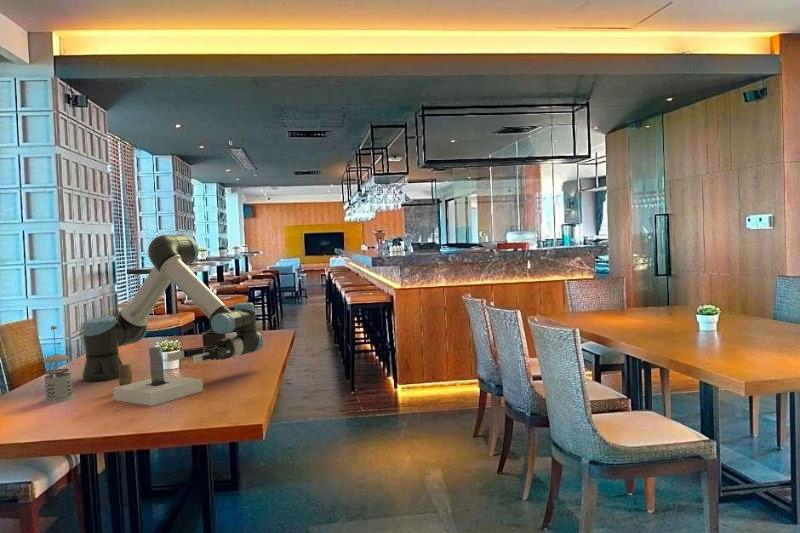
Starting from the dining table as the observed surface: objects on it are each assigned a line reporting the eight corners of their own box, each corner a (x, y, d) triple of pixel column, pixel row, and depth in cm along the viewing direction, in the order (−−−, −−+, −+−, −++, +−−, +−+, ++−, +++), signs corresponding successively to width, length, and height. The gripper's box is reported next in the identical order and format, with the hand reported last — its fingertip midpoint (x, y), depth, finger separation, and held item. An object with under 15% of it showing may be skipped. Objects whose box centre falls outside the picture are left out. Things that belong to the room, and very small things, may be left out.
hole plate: (113, 400, 211) (112, 388, 211) (165, 386, 227) (164, 375, 227) (151, 405, 200) (150, 393, 200) (203, 390, 217) (202, 379, 216)
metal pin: (150, 396, 213) (146, 348, 212) (160, 393, 216) (156, 346, 216) (157, 397, 211) (154, 349, 210) (168, 394, 214) (164, 347, 214)
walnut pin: (117, 391, 223) (116, 366, 222) (127, 389, 226) (125, 364, 226) (125, 392, 221) (123, 366, 220) (134, 390, 224) (133, 364, 224)
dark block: (203, 355, 288) (200, 316, 288) (202, 352, 299) (199, 313, 298) (238, 352, 293) (236, 312, 293) (236, 348, 304) (234, 310, 303)
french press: (46, 404, 210) (40, 328, 209) (38, 399, 219) (32, 326, 218) (79, 398, 216) (73, 324, 215) (69, 393, 225) (64, 322, 224)
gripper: (252, 359, 232) (205, 371, 215) (206, 356, 246) (158, 367, 228) (251, 339, 232) (204, 349, 214) (204, 336, 246) (157, 346, 228)
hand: (180, 358), depth 221 cm, fingers open, 13 cm apart
